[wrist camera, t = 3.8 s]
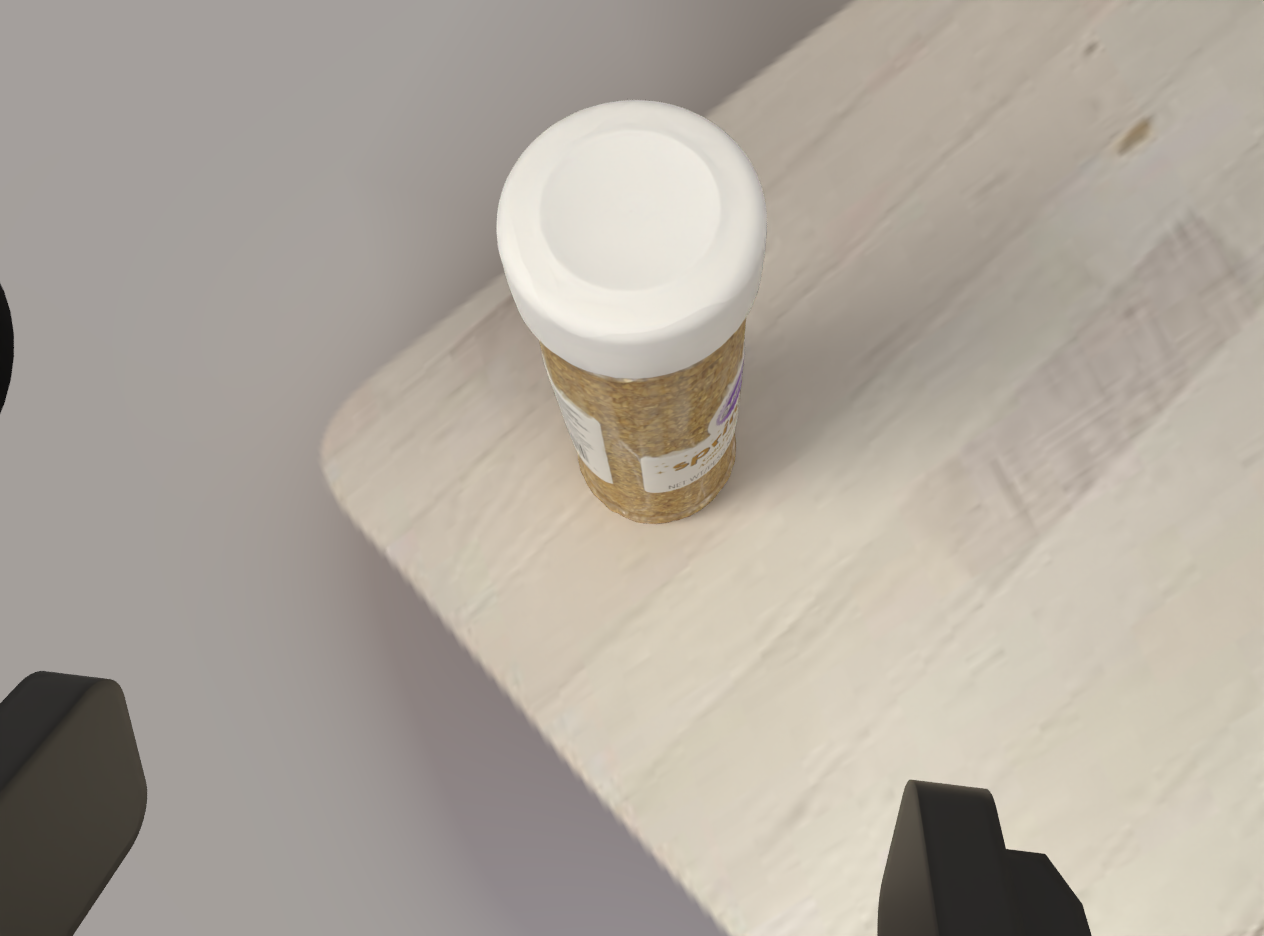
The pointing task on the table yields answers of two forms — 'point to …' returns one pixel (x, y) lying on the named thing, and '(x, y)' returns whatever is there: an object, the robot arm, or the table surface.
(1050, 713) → the table surface
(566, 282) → the spice jar
